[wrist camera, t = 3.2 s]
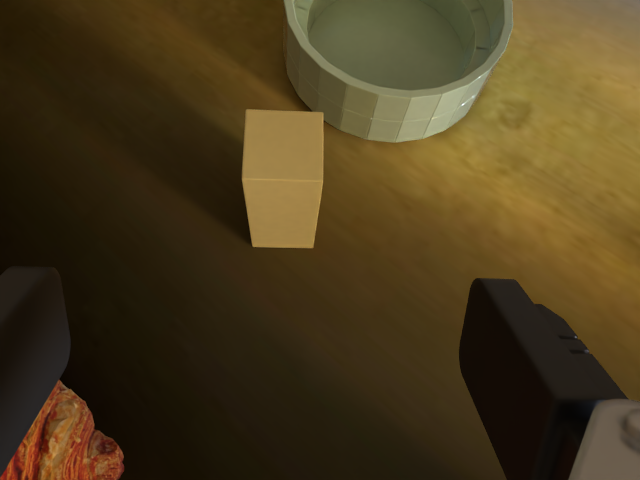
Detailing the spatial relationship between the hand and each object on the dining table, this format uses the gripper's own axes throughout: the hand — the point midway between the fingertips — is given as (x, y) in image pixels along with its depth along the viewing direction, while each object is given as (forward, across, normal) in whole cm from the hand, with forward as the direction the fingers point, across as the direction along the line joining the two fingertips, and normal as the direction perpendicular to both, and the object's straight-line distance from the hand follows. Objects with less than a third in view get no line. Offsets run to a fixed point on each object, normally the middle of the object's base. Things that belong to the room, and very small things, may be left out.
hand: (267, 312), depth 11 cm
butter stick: (+25, 0, +8) cm, 26 cm away
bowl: (+34, -7, -1) cm, 35 cm away
